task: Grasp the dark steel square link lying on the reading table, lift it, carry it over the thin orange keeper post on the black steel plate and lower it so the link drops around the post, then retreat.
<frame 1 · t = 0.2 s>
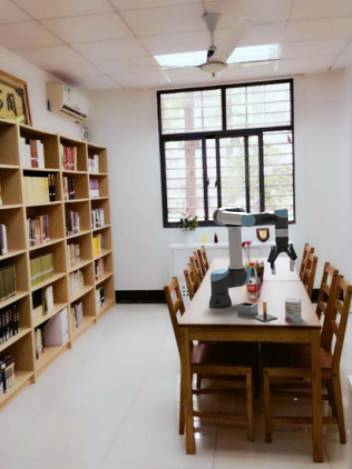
hand: (282, 272, 250), 27 cm above the table, fingers open, 13 cm apart
ink box: (293, 320, 252), on the table
link: (248, 314, 267), on the table
keeper post: (265, 318, 257), on the table
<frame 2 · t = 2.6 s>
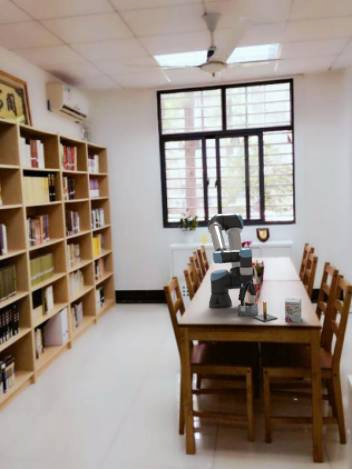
hand: (247, 308, 267), 4 cm above the table, fingers open, 13 cm apart
nothing on the table moved.
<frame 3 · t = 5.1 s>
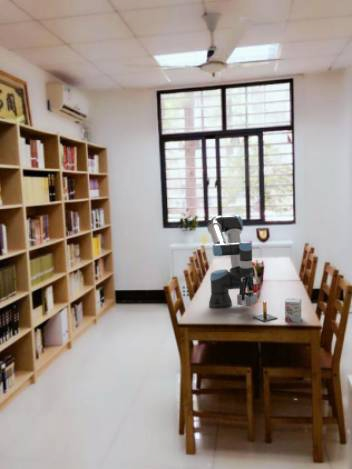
hand: (247, 303, 268), 7 cm above the table, fingers closed on link, 9 cm apart
link: (247, 303, 268), point 6 cm above the table, touching gripper
everything else where it was.
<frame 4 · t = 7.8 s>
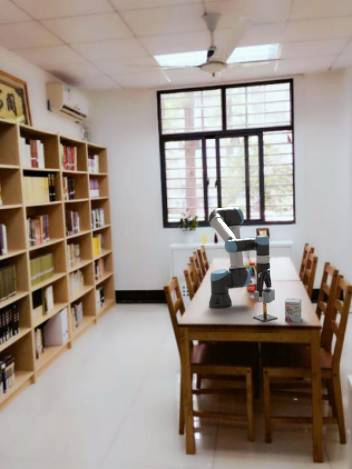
hand: (264, 300, 256), 11 cm above the table, fingers closed on link, 9 cm apart
link: (264, 300, 256), point 11 cm above the table, touching gripper
everything else where it was.
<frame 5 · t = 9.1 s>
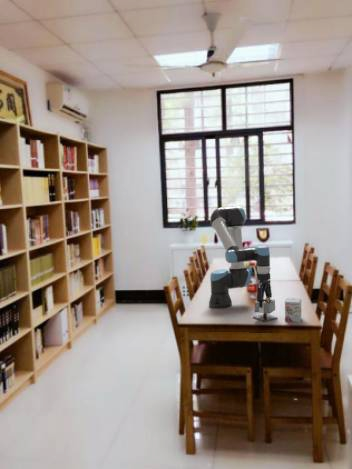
hand: (265, 310, 257), 5 cm above the table, fingers closed on link, 9 cm apart
link: (265, 310, 257), point 4 cm above the table, touching gripper
everything else where it was.
when the fingers open (3 cm above the table, at t = 10.4 s): link drops 2 cm, resting on keeper post.
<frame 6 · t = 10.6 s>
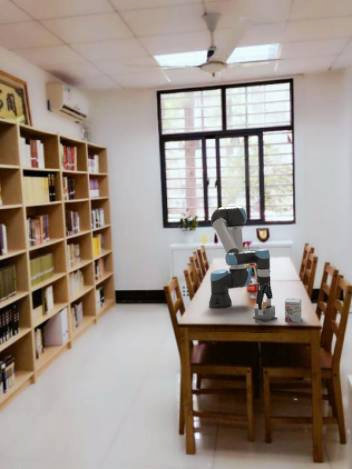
hand: (264, 312, 257), 4 cm above the table, fingers open, 11 cm apart
link: (265, 316, 257), point 1 cm above the table, touching keeper post
everything else where it was.
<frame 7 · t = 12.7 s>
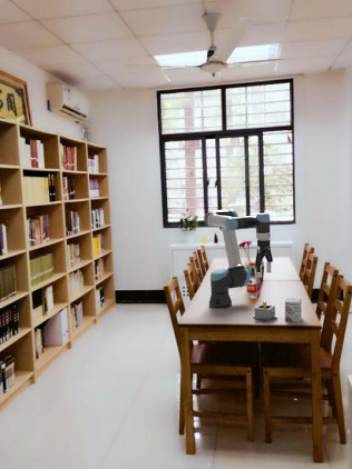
hand: (264, 275, 260), 25 cm above the table, fingers open, 13 cm apart
nothing on the table moved.
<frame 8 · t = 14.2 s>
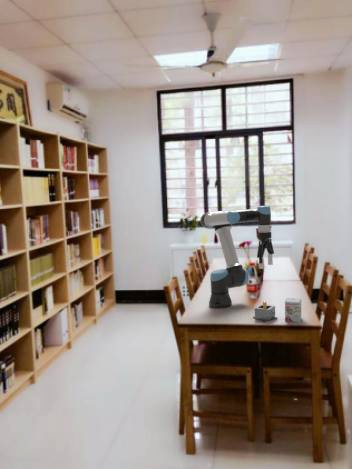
hand: (266, 266, 265), 29 cm above the table, fingers open, 13 cm apart
nothing on the table moved.
at the end: link 0.1 cm off-centre on the keeper post, point 0.8 cm above the keeper post's base; the gripper is holding nothing; link tilted 0° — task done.
